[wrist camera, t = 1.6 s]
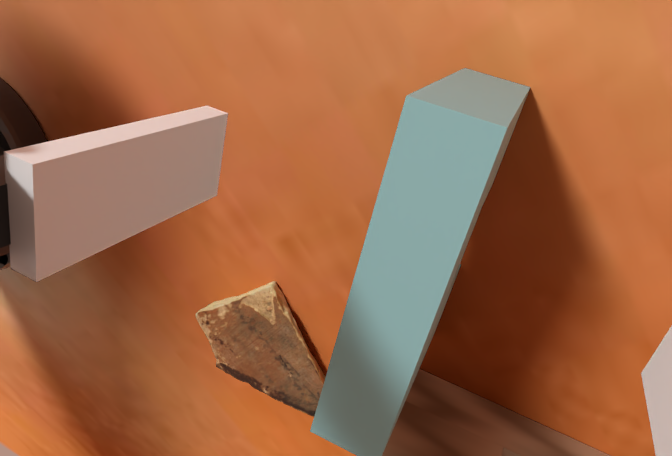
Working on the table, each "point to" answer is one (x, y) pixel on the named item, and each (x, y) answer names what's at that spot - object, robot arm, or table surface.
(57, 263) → the robot arm
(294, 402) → the shard
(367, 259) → the teal board
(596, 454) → the walnut board
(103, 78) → the table surface
